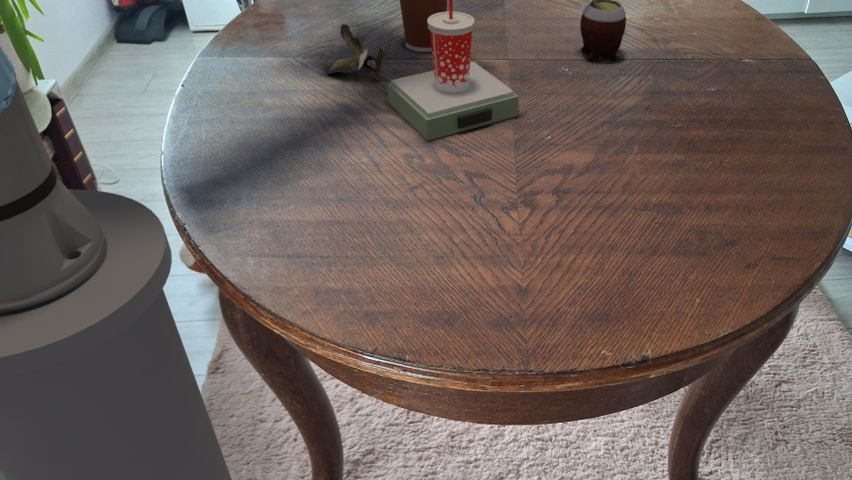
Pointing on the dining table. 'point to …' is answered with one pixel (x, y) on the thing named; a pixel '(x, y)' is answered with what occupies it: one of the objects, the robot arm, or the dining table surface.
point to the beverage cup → (451, 49)
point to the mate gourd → (602, 28)
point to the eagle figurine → (357, 55)
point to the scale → (451, 103)
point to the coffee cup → (419, 21)
